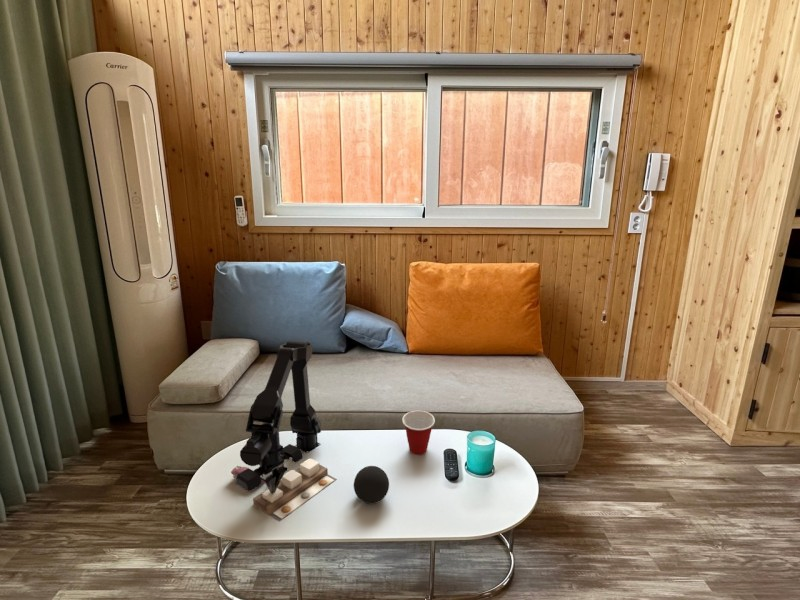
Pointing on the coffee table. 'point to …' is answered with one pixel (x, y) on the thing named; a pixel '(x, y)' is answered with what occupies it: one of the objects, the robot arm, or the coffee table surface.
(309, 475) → the button
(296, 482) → the button middle
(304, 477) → the button board
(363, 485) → the speaker
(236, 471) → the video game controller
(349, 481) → the coffee table surface
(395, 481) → the coffee table surface
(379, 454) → the coffee table surface
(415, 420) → the plastic cup
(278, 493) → the button
